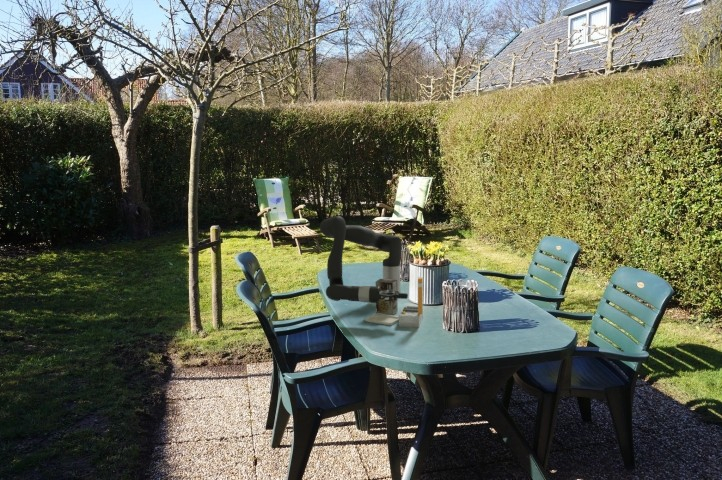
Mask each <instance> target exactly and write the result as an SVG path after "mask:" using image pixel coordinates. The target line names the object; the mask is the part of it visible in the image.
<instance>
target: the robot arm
mask: <svg viewBox="0 0 722 480" xmlns="http://www.w3.org/2000/svg"><path fill="white" fill-rule="evenodd" d="M319 229H320V232H321V233H322V234H323V236H325V237H326V238H329V239H333V244H332V247H331V251H330V253H329V255H328V258H327V263H326V268H327V269H326V272H327V273H326V274H327V275H326V276H327V280H328V281H329V282H328V283H329V285H328V286H327V287H326V290H325V294H326V297H327V298H328V299H330V300H332V301H334V302H335V301H336V302H339V301H341V300H342V301H343V300H344V301H346V300H347V301H350V302H361V303H371V304H376V303H380V301H381V299H384V300H385V301H392V300H397V301H398V300H399V299H403V300H407V299H408V297H409V296H408V295H409V294H408V293H406V292H401V285H402V283H401V279H402V278H401V261H402V253H403V252H402V251H403V241H402V238H401V237H400V236H398V235H393V234H383V233H377V232H375V231H374V230H373V229H372V228H369V227H365V226H362V225H358V224H357V225H355V224H354V225H353V224H352V225H350V224H346V220H345V218H344V217H343V216H340V215H336V216H332V217H328V218H326V219H324V220H322V221H321V223H320V225H319ZM345 241H346V242H350V243H354V244H356V245H360V246H364V247H373V248H375V249H378V250H381V251H382V252H385V253H388V257H387V258H384V259H383V260H382V279H392V280H397V291H396V290H392V289H389V290H385V291H381V288H380V287H379V286H376V285H362V286H361V285H345V284H344V281H343V279H344V278H343V253H344V248H345V247H344V246H345Z"/></svg>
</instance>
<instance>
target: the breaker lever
mask: <svg viewBox="0 0 722 480" xmlns="http://www.w3.org/2000/svg"><path fill="white" fill-rule="evenodd" d="M423 286H424V278H423V277H418V278H417V307H418V314H422V313H423V314H424V308H423V307H424V303H423V302H424V297H423V295H424V288H423Z"/></svg>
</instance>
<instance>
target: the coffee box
mask: <svg viewBox="0 0 722 480" xmlns="http://www.w3.org/2000/svg"><path fill="white" fill-rule="evenodd" d="M375 286H379V287H380V288H381V291H385V290H389V289H392V290H396V291H397V280H392V279H383V278H379V279H378V280H376V281H375ZM398 310H399V309H398V299H397V300H392V301H385V300H384V299H381V301H380V303H375V314H376V313H381V314H387V315H393V316H395V315H396V314H397V313H398Z"/></svg>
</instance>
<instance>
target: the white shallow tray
mask: <svg viewBox="0 0 722 480" xmlns="http://www.w3.org/2000/svg"><path fill="white" fill-rule="evenodd" d="M365 322H369V323H374V324H380V325H386V326H391V327H392V326H394V325H396V324H397V323H399V315H387V314H381V313H376V312H375V313H374V314H372V315H369V316H368V317H366V318H365Z"/></svg>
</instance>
